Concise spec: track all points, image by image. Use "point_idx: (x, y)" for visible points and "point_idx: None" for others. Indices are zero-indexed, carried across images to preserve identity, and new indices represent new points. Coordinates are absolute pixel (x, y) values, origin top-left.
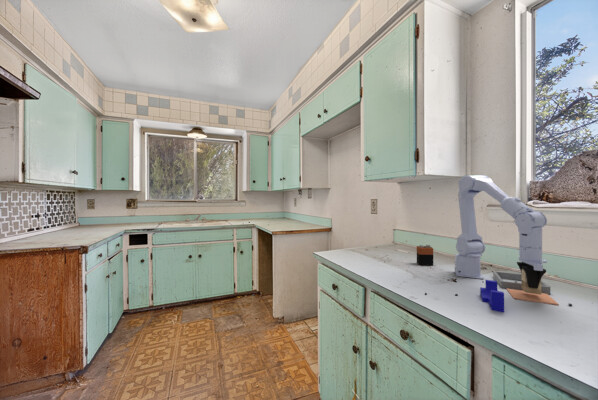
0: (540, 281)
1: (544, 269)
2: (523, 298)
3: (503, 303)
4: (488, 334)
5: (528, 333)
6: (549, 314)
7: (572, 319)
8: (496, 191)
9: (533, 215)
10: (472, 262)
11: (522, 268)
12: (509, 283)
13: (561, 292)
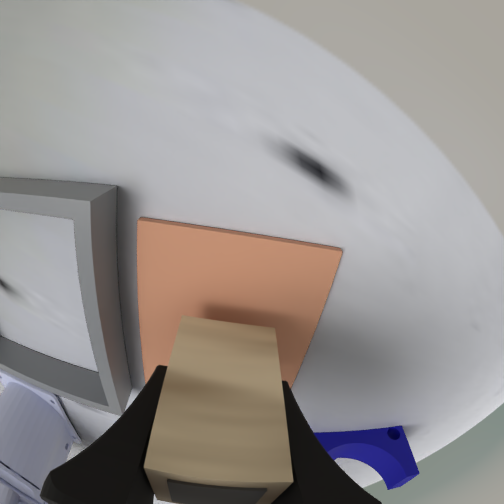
0: (284, 415)
1: None
2: (287, 378)
3: (409, 448)
4: (463, 432)
5: (483, 394)
6: (432, 336)
7: (472, 280)
8: None
9: None
10: (41, 466)
11: (151, 500)
12: (118, 389)
13: (58, 95)
